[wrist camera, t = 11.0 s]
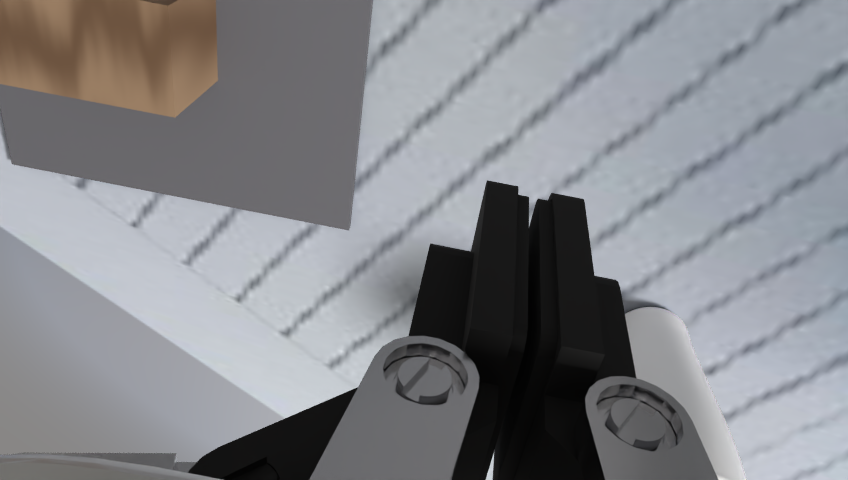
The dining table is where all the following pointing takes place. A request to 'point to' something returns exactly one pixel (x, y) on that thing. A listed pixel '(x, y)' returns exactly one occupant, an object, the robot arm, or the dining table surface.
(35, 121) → the rubber mat
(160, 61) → the wooden box
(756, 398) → the dining table surface
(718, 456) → the drinking glass
